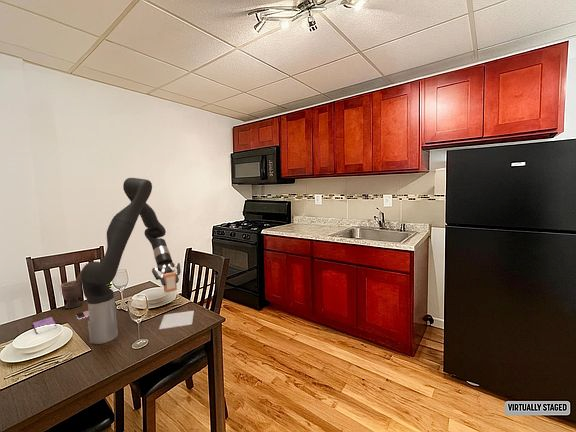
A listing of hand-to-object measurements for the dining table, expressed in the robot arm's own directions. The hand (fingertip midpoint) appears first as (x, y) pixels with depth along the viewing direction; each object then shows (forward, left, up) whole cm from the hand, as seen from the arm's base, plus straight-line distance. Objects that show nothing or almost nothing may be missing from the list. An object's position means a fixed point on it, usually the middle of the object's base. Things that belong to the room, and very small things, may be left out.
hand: (171, 283), depth 136 cm
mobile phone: (-40, +12, -15) cm, 44 cm away
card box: (-1, +2, -4) cm, 5 cm away
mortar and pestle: (-53, +25, -15) cm, 60 cm away
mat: (+3, -10, -15) cm, 18 cm away
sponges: (-57, +3, -16) cm, 59 cm away
